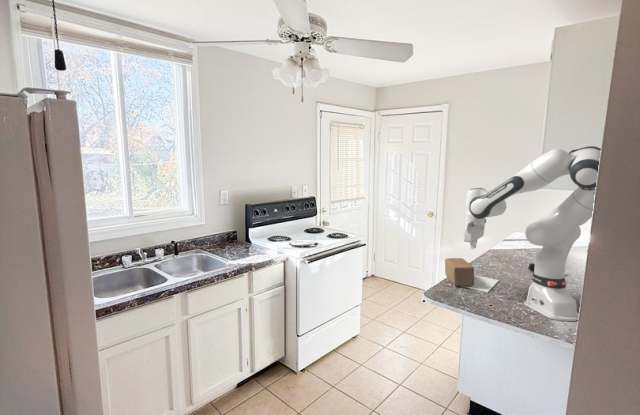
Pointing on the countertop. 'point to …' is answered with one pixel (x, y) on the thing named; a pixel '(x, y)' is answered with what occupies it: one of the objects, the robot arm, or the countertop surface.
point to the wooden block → (459, 272)
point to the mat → (482, 283)
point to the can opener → (531, 267)
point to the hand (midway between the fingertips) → (473, 248)
